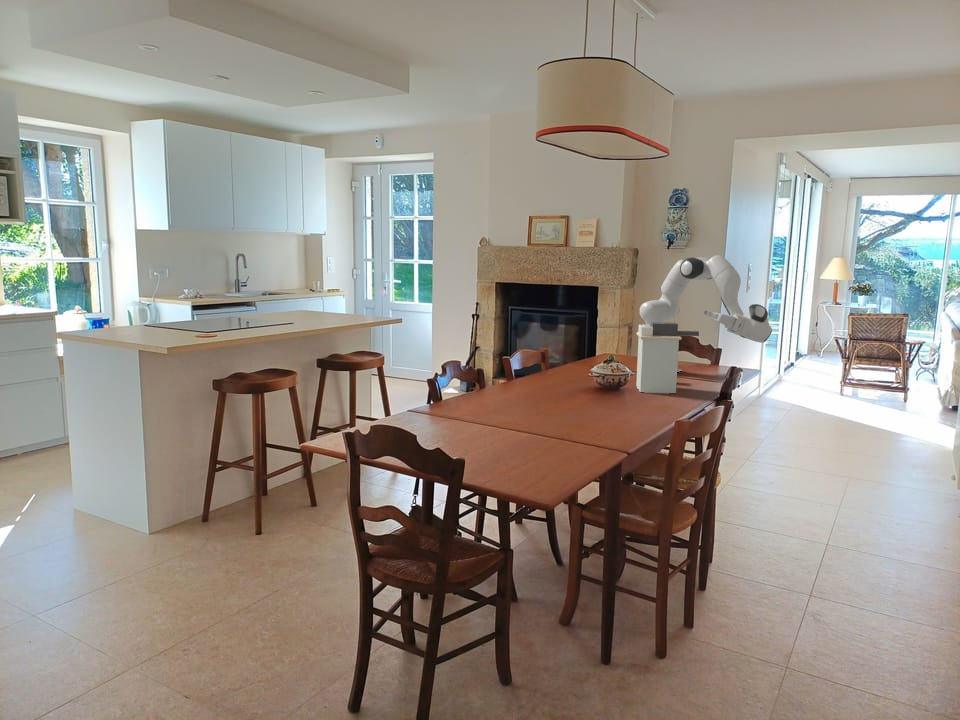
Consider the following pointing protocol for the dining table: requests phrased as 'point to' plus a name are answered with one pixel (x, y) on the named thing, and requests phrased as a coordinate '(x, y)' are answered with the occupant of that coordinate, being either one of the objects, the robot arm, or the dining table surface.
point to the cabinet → (657, 363)
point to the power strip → (645, 330)
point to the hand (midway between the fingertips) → (705, 312)
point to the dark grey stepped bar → (670, 330)
